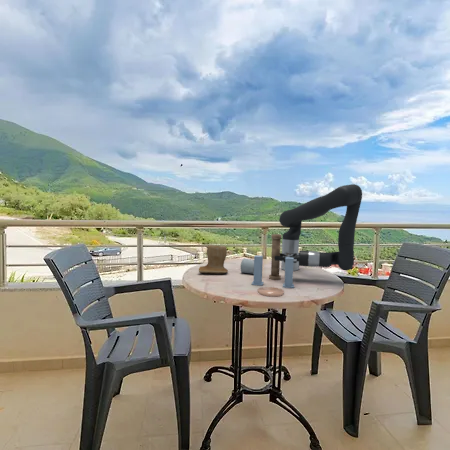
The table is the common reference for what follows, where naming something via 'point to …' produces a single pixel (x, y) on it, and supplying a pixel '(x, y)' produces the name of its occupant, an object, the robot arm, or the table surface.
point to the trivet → (270, 291)
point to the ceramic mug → (247, 266)
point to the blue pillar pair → (288, 271)
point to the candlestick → (275, 252)
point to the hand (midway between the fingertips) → (275, 256)
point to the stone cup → (215, 260)
